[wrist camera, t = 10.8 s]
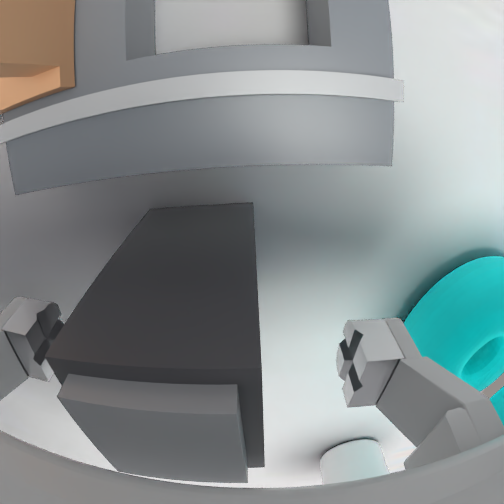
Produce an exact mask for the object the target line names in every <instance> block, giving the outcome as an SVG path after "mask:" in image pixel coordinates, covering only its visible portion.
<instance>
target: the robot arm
mask: <svg viewBox="0 0 504 504" xmlns="http://www.w3.org/2000/svg"><path fill="white" fill-rule="evenodd" d="M60 316H61V312H60V310H59V307H58V305H57V304H55V303H53V302H49V301H43V300H37V299H32V298H25V297H20V296H19V297H15V298H14V299H13V300H12V301H11V302H10V303H9V304H8V306H7V307H6V308H5V309H4V310H3V311H2V313H1V314H0V401H1V400H2V399H3V398H4V397H5V396H7V395H8V394H9V393H10V392H11V391H13V390H14V389H15V388H16V387H18V386H19V385H20V384H21V383H23V382H24V381H25V380H26V379H28V377H32V378H36V379H40V380H44V381H48V382H49V381H50V379H51V377H52V376H53V374H54V372H53V370H52V369H51V367H50V365H49V364H48V362H47V360H46V358H45V357H44V356H45V354H46V353H47V351H48V349H49V348H50V346H51V345H52V343H53V341H54V340H55V338H56V337H57V335H58V334H59V332H60V330H61V329H62V327H63V326H64V324H63V323H62V322H61V321H60V320H59V319H60ZM343 333H344V336H345V339H344V340H343V341H342V342H341V343H340V344H339V347H338V351H337V359H336V364H337V371H338V375H339V377H341V378H342V379H343V380H344V381H345V383H344V385H343V388H342V390H343V393H344V397H345V401H346V405H347V407H360V406H371V405H376V407H377V408H378V409H379V410H380V411H381V412H382V413H383V414H384V415H385V416H386V417H387V418H388V419H389V420H390V421H391V422H392V423H393V424H394V425H395V426H396V427H397V428H398V429H399V430H400V431H401V432H402V433H403V434H404V435H405V436H406V437H407V438H408V439H409V440H410V441H411V442H412V443H413V444H414V445H415V446H416V447H417V448H416V449H415V450H414V451H413V452H412V453H411V454H410V456H409V457H408V458H407V459H406V460H405V462H404V466H405V469H406V470H403V471H399V472H394V473H390V474H386V475H381V476H376V477H371V478H365V479H360V480H354V481H347V482H340V483H333V484H324V485H314V486H302V487H286V488H228V487H212V486H200V485H190V484H181V483H174V482H167V481H160V480H154V479H148V478H143V477H138V476H133V475H128V474H124V473H119V472H115V471H111V470H107V469H103V468H99V467H96V466H92V465H89V464H85V463H82V462H79V461H76V460H72V459H69V458H66V457H63V456H61V455H58V454H55V453H52V452H49V451H47V450H44V449H42V448H39V447H37V446H34V445H32V444H29V443H27V442H24V441H22V440H20V439H18V438H15V437H13V436H11V435H9V434H7V433H5V432H3V431H1V430H0V504H504V426H503V424H502V422H501V420H500V418H499V416H498V414H497V412H496V410H495V408H494V406H493V405H492V403H491V401H490V399H489V398H488V397H487V396H486V395H484V394H483V393H481V392H480V391H478V390H477V389H475V388H474V387H472V386H471V385H469V384H468V383H466V382H464V381H463V380H461V379H460V378H458V377H457V376H455V375H454V374H452V373H451V372H449V371H448V370H446V369H445V368H443V367H442V366H440V365H439V364H437V363H436V362H434V361H433V360H431V359H430V358H428V357H422V356H421V354H420V352H419V350H418V348H417V347H416V345H415V343H414V341H413V339H412V338H411V336H410V334H409V332H408V331H407V329H406V327H405V325H404V324H403V322H402V320H401V319H399V318H398V317H397V318H382V319H368V320H348V321H347V322H346V324H345V327H344V330H343Z"/></svg>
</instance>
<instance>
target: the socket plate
mask: <svg viewBox="0 0 504 504" xmlns="http://www.w3.org/2000/svg"><path fill="white" fill-rule="evenodd" d="M306 8H307V23H308V39H309V45H290V44H261V45H235V46H221V47H209V48H200V49H191V50H183V51H176V52H170V53H163V54H158V55H156V54H155V0H75V12H74V76H75V87H73V88H70V89H67V90H63V91H60V92H57V93H54V94H51V95H48V96H46V97H43V98H40V99H37V100H35V101H32V102H29V103H27V104H24V105H22V106H19V107H17V108H14V109H12V110H10V111H7V112H5V113H3V119H4V123H3V124H1V125H0V144H1V143H4V142H6V145H7V152H8V158H9V164H10V170H11V175H12V180H13V185H14V190H15V194H16V195H19V194H24V193H29V192H34V191H39V190H44V189H49V188H55V187H60V186H66V185H72V184H78V183H84V182H90V181H97V180H104V179H111V178H118V177H126V176H134V175H142V174H151V173H160V172H170V171H181V170H193V169H206V168H221V167H238V166H260V165H301V164H335V165H375V166H392V154H393V133H394V101H395V102H404V80H398V79H394V67H393V47H392V33H391V21H390V12H389V3H388V0H306Z"/></svg>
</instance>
